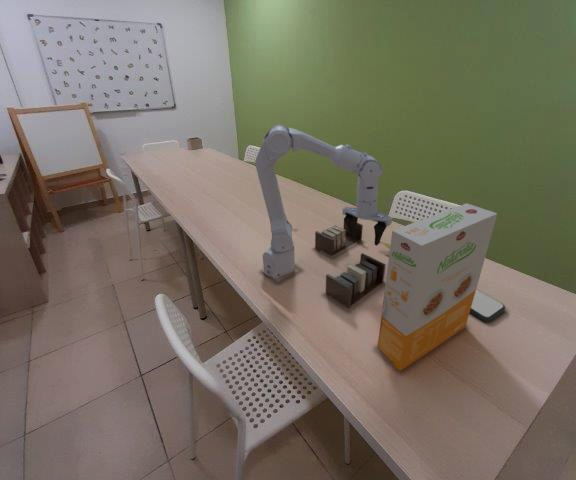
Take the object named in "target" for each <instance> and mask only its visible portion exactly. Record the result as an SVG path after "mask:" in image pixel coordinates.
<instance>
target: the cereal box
mask: <svg viewBox="0 0 576 480" xmlns="http://www.w3.org/2000/svg"><path fill="white" fill-rule="evenodd" d="M497 216H498V213H497V212H494V211H492V210H488V209H486V208H482V207H479V206H477V205H473V204H470V203H464V204H461V205H457V206H456V207H453V208H450V209H447V210H445V211H442V212H439V213H437V214H434V215H431V216H427V217H426V218H423V219H420V220H418V221H414V222H411V223H409V224H406V225H404V226H400V227H399V228H396V229H392V230H391V239H390V249H389V255H388V262H387V268H386V269H387V270H386V276H385V277H386V278H385V284H384V292H383V301H382V309H381V318H380V324H379V332H378V339H377V348H378V349H379V350H380V351H381V352H382V353H383V354H385V355H386V356H387V357H388V358H389V359H390V364H391V365H392V366H393V367H394V368H395V369H396V370H397V371H398V372H402V371H403V370H404V369H406V368H407V367H408V366H410V365H412V364H413V363H415V362H416V361H418V360H419V359H421V358H422V357H424V356H425V355H426V354H429V352H431V351H432V350H434V349H435V348H437V347H439V346H440V345H441V344H443V343H444V342H446V341H447V340H448V339H450V338H451V337H453V336H454V335H456V334H458V333H459V332H461V331H462V330H463V329H465V328H466V327H467V323H468V320H469V316H470V314H471V313H470V309H471V306H472V302H473V299H474V295H475V292H476V289H477V287H478V284H479V280H480V278H481V274H482V270H483V266H484V263H485V259H486V256H487V252H488V248H489V245H490V242H491V239H492V235H493V231H494V228H495V224H496V220H497Z"/></svg>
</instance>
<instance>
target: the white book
mask: <svg viewBox="0 0 576 480" xmlns="http://www.w3.org/2000/svg"><path fill="white" fill-rule="evenodd" d="M354 265H355V264H353V263H350V264H349V265H347V266H346V268H347V269H346V273H347V274H349V275H351V276H353V277H354V278H356V279H358V280H359V285H358V292H360V293H361V292H362V291H364V289H365V278H366V271H364V270H362V269H360V268H358V267H356V266H354Z"/></svg>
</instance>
